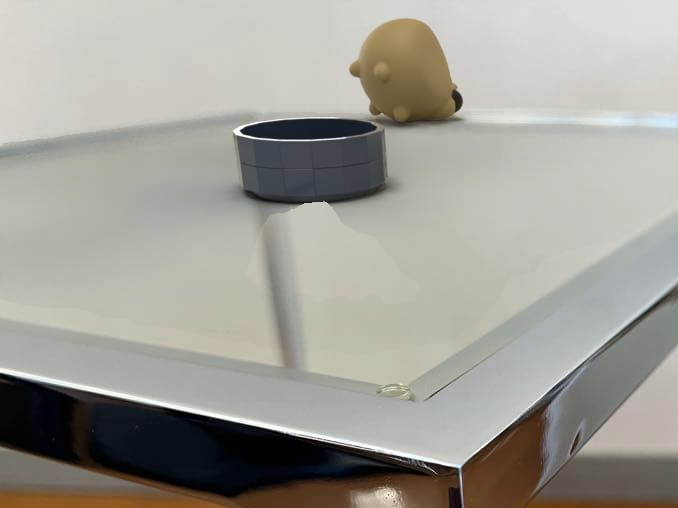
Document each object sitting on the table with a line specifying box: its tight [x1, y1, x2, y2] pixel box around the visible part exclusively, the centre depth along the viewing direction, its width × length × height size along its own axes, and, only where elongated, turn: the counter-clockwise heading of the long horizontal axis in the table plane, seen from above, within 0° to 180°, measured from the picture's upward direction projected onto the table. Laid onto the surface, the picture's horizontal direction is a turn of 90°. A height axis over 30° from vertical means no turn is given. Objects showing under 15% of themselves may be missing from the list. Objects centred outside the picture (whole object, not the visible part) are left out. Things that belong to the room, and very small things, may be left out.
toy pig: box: [348, 17, 464, 123], centre depth 99 cm, size 10×12×11 cm
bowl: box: [232, 116, 389, 203], centre depth 70 cm, size 11×11×4 cm
